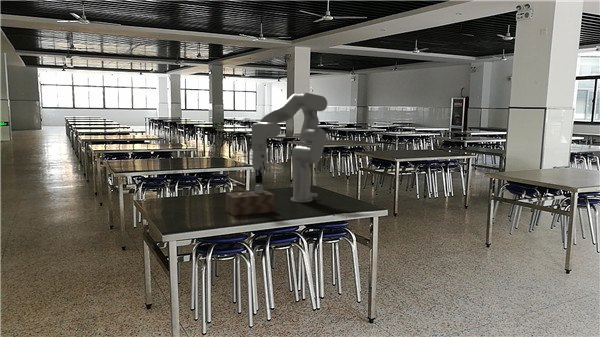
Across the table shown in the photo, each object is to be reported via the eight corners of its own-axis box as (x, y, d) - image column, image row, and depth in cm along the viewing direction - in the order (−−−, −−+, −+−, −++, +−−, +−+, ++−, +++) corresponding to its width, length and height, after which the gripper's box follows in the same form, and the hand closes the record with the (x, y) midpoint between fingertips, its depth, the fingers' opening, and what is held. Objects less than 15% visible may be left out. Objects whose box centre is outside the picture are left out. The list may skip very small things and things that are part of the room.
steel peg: (261, 199, 239) (261, 184, 238) (264, 201, 236) (264, 185, 234) (254, 200, 237) (254, 185, 236) (256, 201, 234) (256, 186, 233)
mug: (246, 203, 243) (242, 185, 245) (229, 208, 246) (225, 190, 247) (254, 203, 255) (250, 186, 257) (238, 207, 258) (234, 190, 259)
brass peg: (243, 208, 235) (243, 192, 234) (245, 209, 232) (245, 194, 231) (235, 208, 233) (235, 193, 232) (238, 210, 230) (238, 194, 229)
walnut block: (265, 206, 245) (265, 190, 244) (274, 211, 234) (274, 194, 233) (225, 210, 235) (225, 193, 234) (233, 215, 225) (232, 197, 224)
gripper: (271, 148, 228) (271, 184, 230) (260, 146, 241) (260, 180, 243) (257, 148, 224) (257, 185, 227) (247, 146, 238) (247, 181, 240)
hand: (258, 182), depth 235 cm, fingers closed
